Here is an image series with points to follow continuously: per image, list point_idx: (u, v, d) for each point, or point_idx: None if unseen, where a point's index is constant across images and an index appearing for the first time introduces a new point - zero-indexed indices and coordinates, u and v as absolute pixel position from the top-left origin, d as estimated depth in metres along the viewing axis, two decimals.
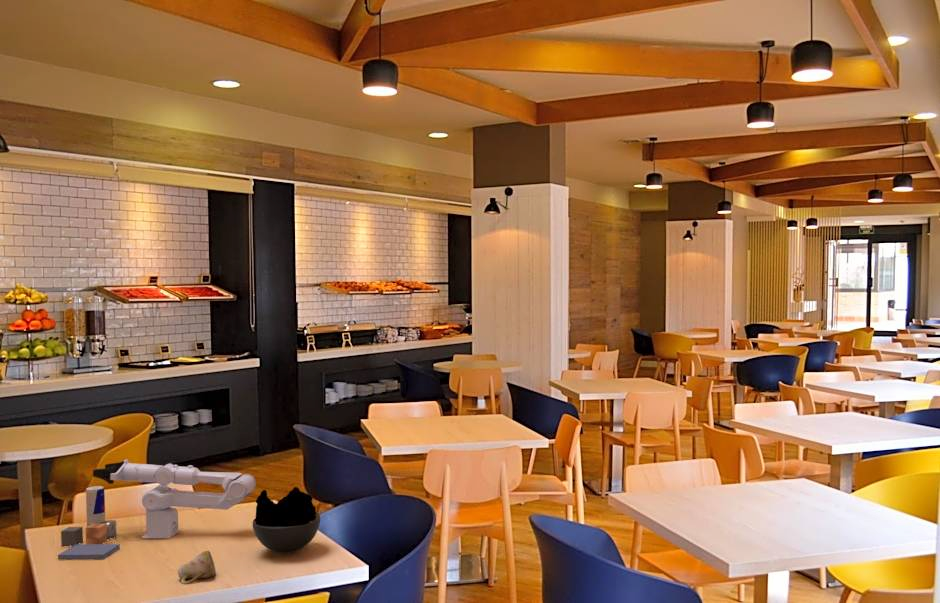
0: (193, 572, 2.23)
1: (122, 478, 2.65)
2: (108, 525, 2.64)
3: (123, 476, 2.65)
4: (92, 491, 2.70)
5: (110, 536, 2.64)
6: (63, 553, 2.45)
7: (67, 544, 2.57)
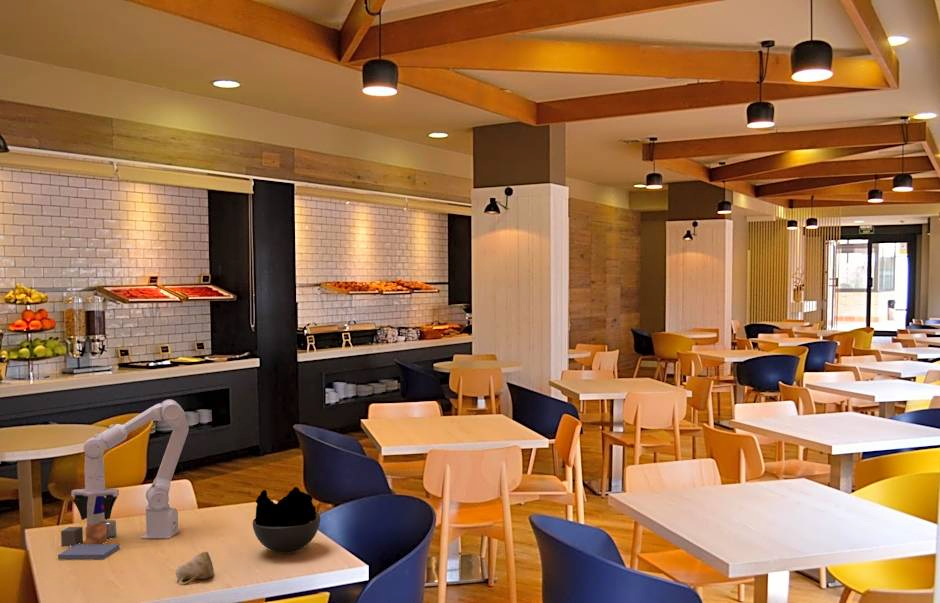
0: (191, 573, 2.23)
1: (105, 489, 2.60)
2: (108, 525, 2.64)
3: (104, 488, 2.60)
4: None
5: (110, 536, 2.64)
6: (63, 553, 2.45)
7: (67, 544, 2.57)
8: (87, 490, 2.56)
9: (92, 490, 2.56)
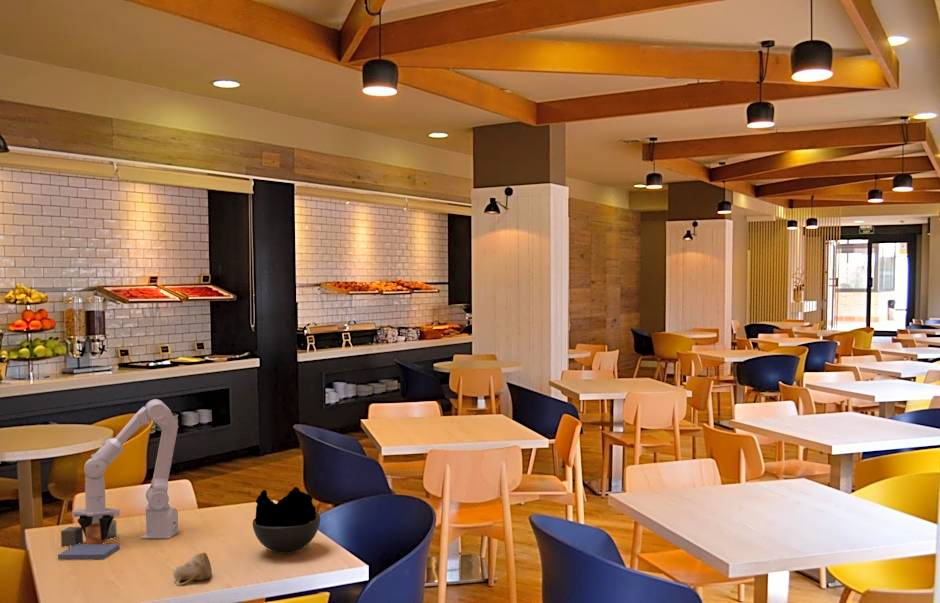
0: (188, 574, 2.22)
1: (106, 509, 2.60)
2: None
3: (105, 508, 2.60)
4: None
5: (110, 536, 2.65)
6: (63, 553, 2.45)
7: (67, 544, 2.57)
8: (88, 510, 2.56)
9: (93, 510, 2.56)
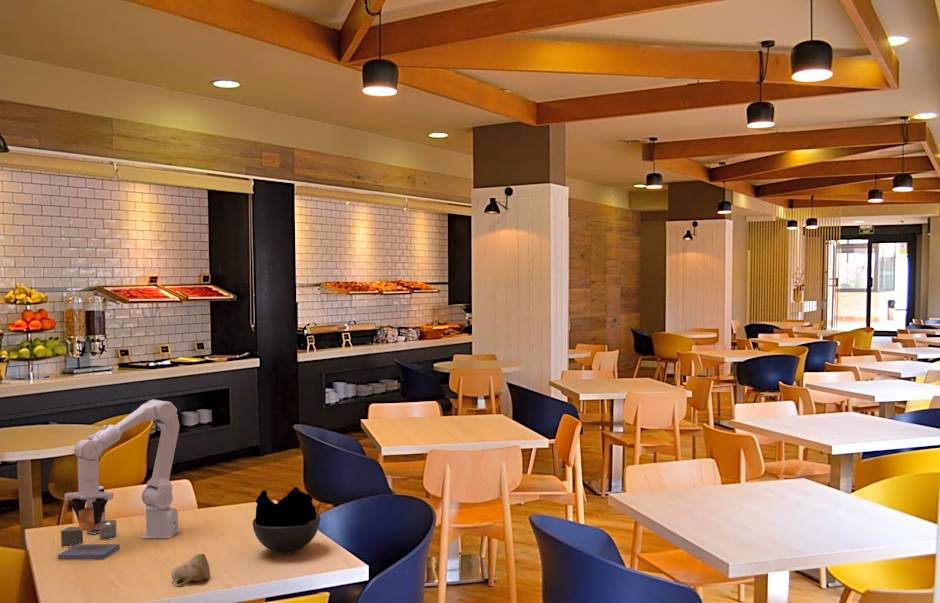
0: (186, 575, 2.21)
1: (99, 492, 2.52)
2: (109, 525, 2.64)
3: (98, 491, 2.51)
4: None
5: (111, 536, 2.65)
6: (63, 553, 2.45)
7: (67, 544, 2.57)
8: (80, 493, 2.48)
9: (86, 493, 2.48)
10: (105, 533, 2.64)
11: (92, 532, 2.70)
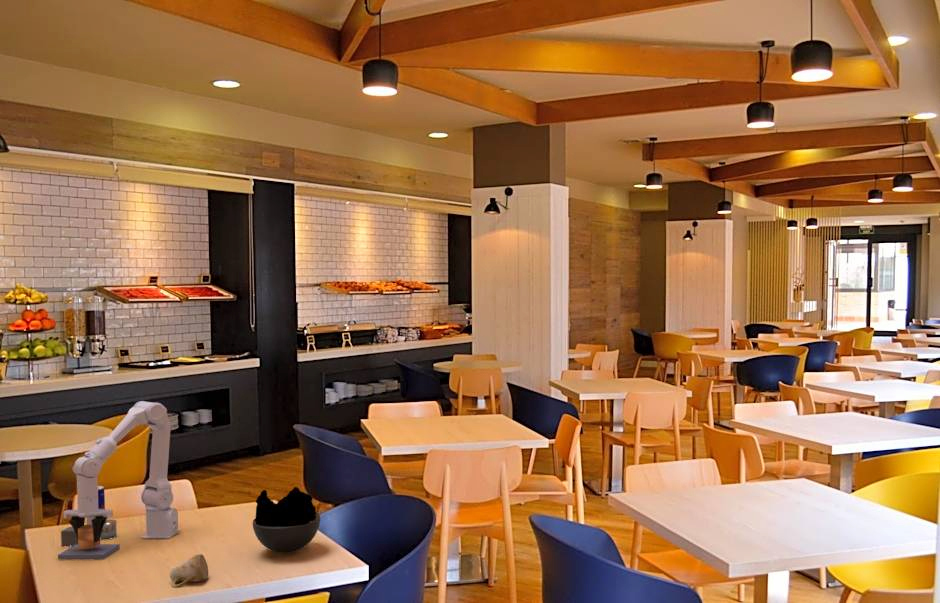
0: (184, 576, 2.21)
1: (99, 509, 2.50)
2: (110, 525, 2.64)
3: (98, 509, 2.49)
4: None
5: (111, 536, 2.65)
6: (63, 553, 2.45)
7: (67, 544, 2.57)
8: (80, 511, 2.46)
9: (85, 511, 2.46)
10: (106, 533, 2.64)
11: None
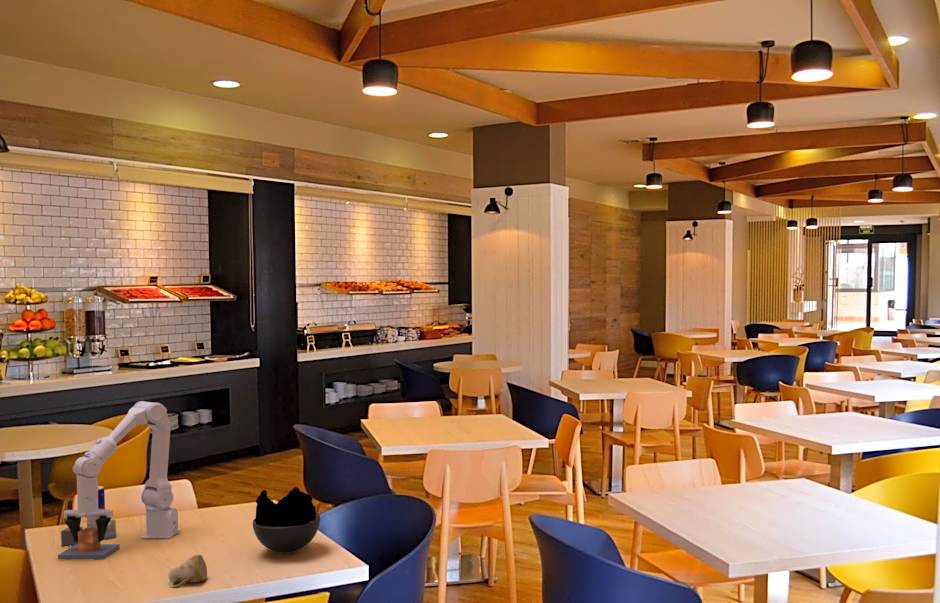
0: (182, 576, 2.20)
1: (99, 509, 2.50)
2: (109, 524, 2.65)
3: (98, 509, 2.49)
4: None
5: (112, 535, 2.65)
6: (63, 553, 2.45)
7: (67, 544, 2.57)
8: (80, 511, 2.46)
9: (85, 511, 2.46)
10: (106, 532, 2.64)
11: None
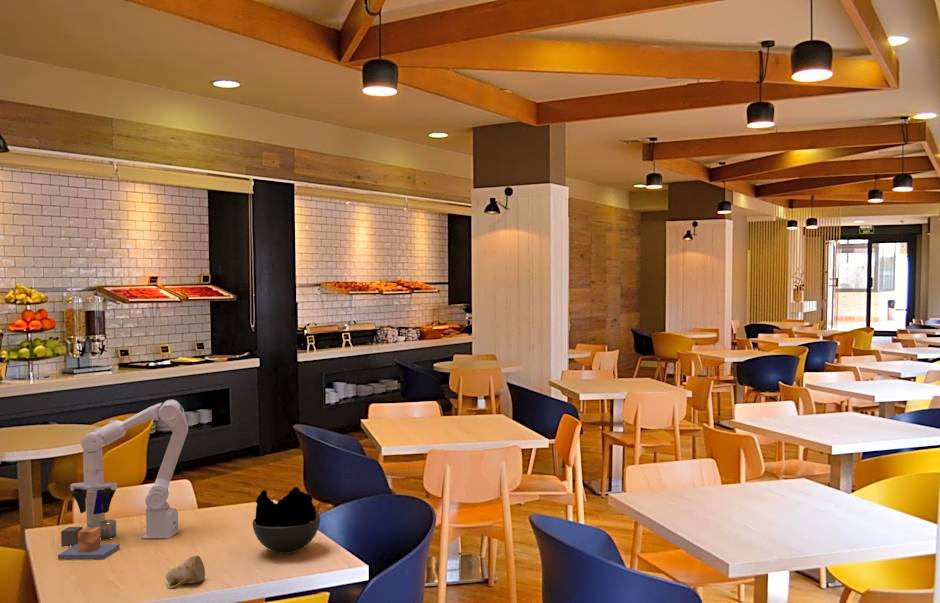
0: (179, 577, 2.20)
1: (104, 482, 2.63)
2: (111, 525, 2.65)
3: (103, 482, 2.63)
4: (92, 491, 2.70)
5: (113, 535, 2.65)
6: (63, 553, 2.45)
7: (67, 544, 2.57)
8: (86, 484, 2.59)
9: (91, 484, 2.59)
10: (107, 533, 2.64)
11: None
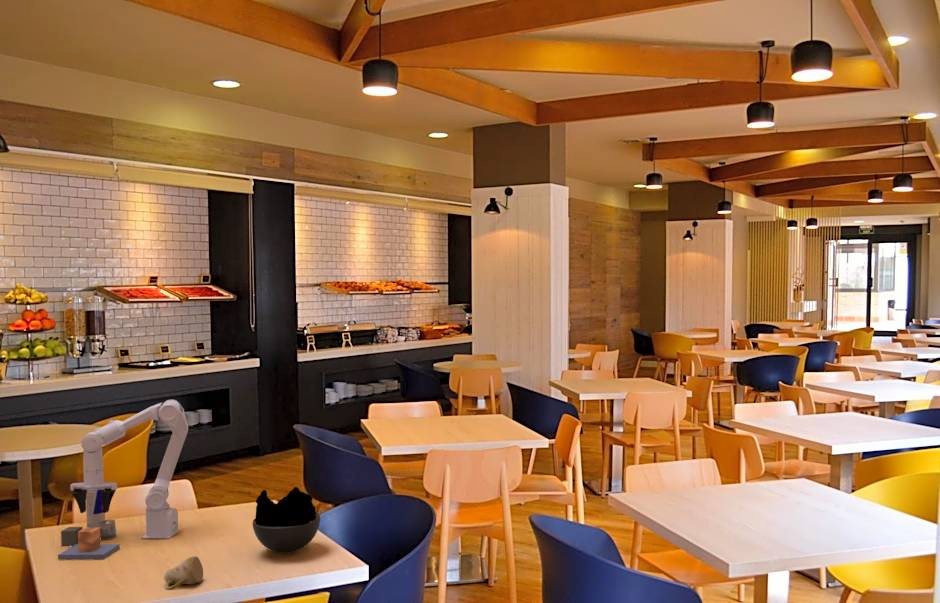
0: (177, 578, 2.19)
1: (104, 482, 2.63)
2: (111, 524, 2.65)
3: (103, 482, 2.63)
4: (92, 491, 2.70)
5: (114, 534, 2.66)
6: (63, 553, 2.45)
7: (67, 544, 2.57)
8: (86, 484, 2.59)
9: (91, 484, 2.59)
10: (108, 532, 2.64)
11: None
